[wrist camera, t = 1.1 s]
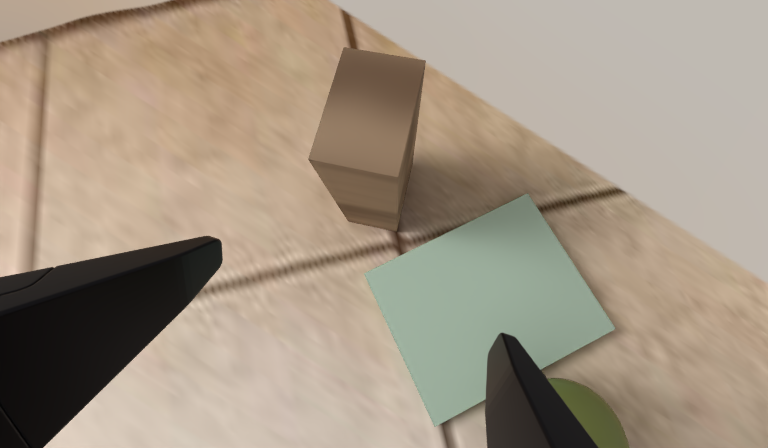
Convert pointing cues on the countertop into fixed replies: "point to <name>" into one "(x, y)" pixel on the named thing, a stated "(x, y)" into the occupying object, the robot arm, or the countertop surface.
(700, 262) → the countertop surface
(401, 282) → the mat
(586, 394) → the pear
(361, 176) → the block
